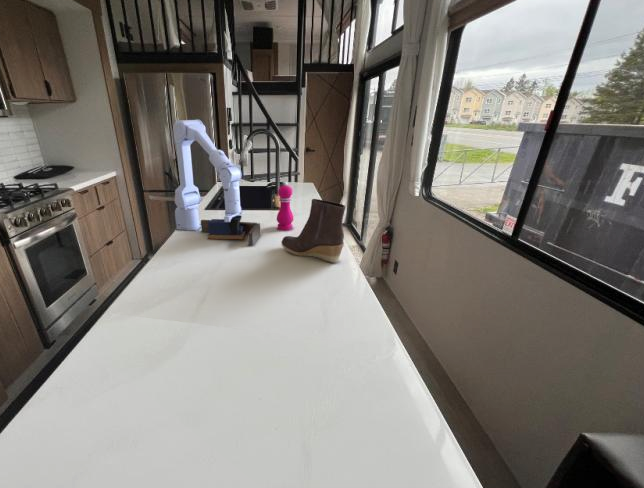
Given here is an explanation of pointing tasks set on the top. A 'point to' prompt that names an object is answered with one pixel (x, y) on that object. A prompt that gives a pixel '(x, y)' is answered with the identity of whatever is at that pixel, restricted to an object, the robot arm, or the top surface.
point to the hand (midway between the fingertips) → (234, 234)
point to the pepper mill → (285, 208)
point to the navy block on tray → (249, 229)
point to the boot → (320, 232)
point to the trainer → (223, 230)
